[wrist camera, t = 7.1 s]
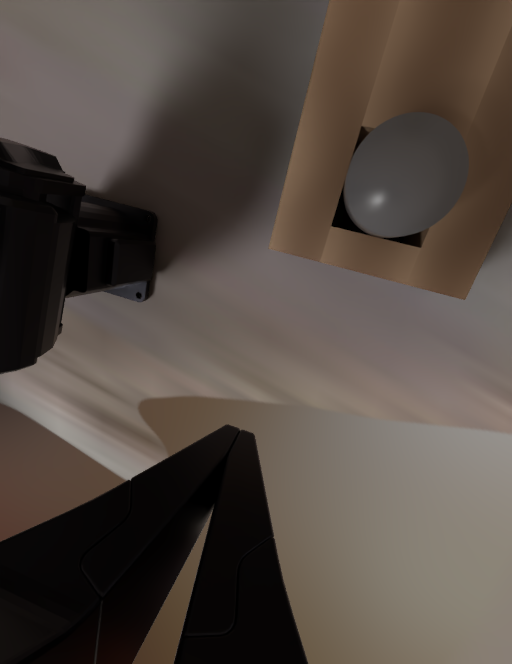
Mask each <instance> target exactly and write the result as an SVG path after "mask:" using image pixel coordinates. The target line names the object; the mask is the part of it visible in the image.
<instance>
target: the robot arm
mask: <svg viewBox="0 0 512 664" xmlns="http://www.w3.org/2000/svg"><path fill="white" fill-rule="evenodd" d="M85 190H86V185H83V184H81V183H79V182H77V181H74V177H72V176H70V175H68V174H65V172H64V171H63V170H62V168H61V166H60V164H59V162H58V160H57V158H56V157H55V156H53V155H51V154H48V153H46V152H43V151H40V150H37V149H35V148H32V147H29V146H26V145H23V144H20V143H17V142H14V141H11V140H8V139H4V138H0V374H3V373H8V372H13V371H17V370H20V369H23V368H26V367H29V366H32V365H34V364H35V363H36V362H37V357H40V356H41V355H43V354H44V353H46V352H47V351H48V350H50V349H51V348H53V346H54V344H55V342H56V340H57V336H58V335H59V334H60V333H61V331H62V326H63V324H62V323H61V320H62V314H63V308H64V302H65V298H69V297H74V296H79V295H85V294H90V293H95V292H101V291H104V292H107V293H111V294H114V295H117V296H120V297H124V298H127V299H130V300H133V301H137V302H143V301H146V299H147V298H148V291H149V283H150V279H151V278H152V272H153V264H154V256H155V248H156V245H155V235H156V227H157V216H156V214H155V213H153V212H151V211H147V210H143V209H139V208H136V207H132V206H128V205H124V204H120V203H116V202H112V201H108V200H105V199H101V198H97V197H93V196H89V195H85ZM148 216H150V217H151V221H150V222H148V219H147V218H148ZM139 292H140V293H141V294H142V297H140V296H139ZM213 507H214V508H213ZM212 510H213V512H212ZM211 512H212V516H211V520H210V523H209V527H208V531H207V535H206V539H205V543H204V547H203V551H202V555H201V559H200V562H199V566H198V570H197V574H196V578H195V582H194V586H193V590H192V594H191V597H190V602H189V605H188V609H187V613H186V617H185V621H184V625H183V629H182V633H181V636H180V640H179V644H178V648H177V652H176V656H175V660H174V664H308V662H307V658H306V655H305V651H304V648H303V645H302V642H301V639H300V635H299V632H298V629H297V626H296V622H295V619H294V616H293V613H292V609H291V606H290V602H289V598H288V595H287V592H286V588H285V584H284V581H283V576H282V572H281V567H280V563H279V559H278V554H277V549H276V543H275V539H274V538H273V537H274V533H273V528H272V523H271V518H270V513H269V508H268V502H267V497H266V492H265V486H264V481H263V476H262V471H261V465H260V460H259V455H258V450H257V445H256V439H255V435H254V434H253V433H250V432H248V431H245V430H241V431H240V429H239V428H237V427H234V426H231V425H225V426H223V427H222V428H220V429H218V430H216V431H214V432H213V433H211V434H209V435H207V436H205V437H204V438H202V439H200V440H198V441H197V442H195V443H193V444H191V445H189V446H188V447H186V448H184V449H182V450H181V451H179V452H177V453H175V454H174V455H172V456H170V457H168V458H166V459H165V460H163V461H161V462H159V463H158V464H156V465H154V466H152V467H151V468H149V469H147V470H145V471H143V472H142V473H140V474H138V475H136V476H135V477H133V478H132V479H131V480H127V481H126V482H124V483H122V484H120V485H119V486H117V487H115V488H113V489H111V490H109V491H108V492H106V493H104V494H102V495H100V496H98V497H96V498H94V499H93V500H90V501H88V502H86V503H84V504H82V505H80V506H78V507H76V508H74V509H72V510H69V511H68V512H65V513H63V514H61V515H59V516H56V517H54V518H52V519H50V520H47V521H45V522H43V523H41V524H39V525H37V526H34V527H32V528H30V529H28V530H25V531H23V532H21V533H19V534H16V535H14V536H12V537H10V538H8V539H6V540H3V541H1V542H0V664H132V663H133V661H134V659H135V657H136V655H137V653H138V651H139V650H140V648H141V646H142V644H143V642H144V640H145V638H146V636H147V634H148V632H149V630H150V629H151V626H152V625H153V623H154V621H155V619H156V617H157V615H158V613H159V611H160V610H161V608H162V606H163V604H164V602H165V600H166V598H167V596H168V594H169V592H170V590H171V589H172V587H173V585H174V583H175V581H176V579H177V577H178V575H179V573H180V571H181V570H182V568H183V566H184V564H185V562H186V560H187V558H188V556H189V554H190V552H191V550H192V549H193V547H194V545H195V543H196V541H197V539H198V537H199V535H200V533H201V531H202V529H203V528H204V526H205V523H206V522H207V520H208V518H209V516H210V514H211Z"/></svg>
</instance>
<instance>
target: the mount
mask: <svg viewBox="0 0 512 664" xmlns="http://www.w3.org/2000/svg"><path fill="white" fill-rule="evenodd" d="M411 112H425V113H431V114H435V115H438V116H440V117H442V118H444V119H446V120H447V121H449V122H450V123H451V124H452V125H453V126H454V127H456V129H457V130H458V131H459V132H460V134H461V136H462V137H463V139H464V141H465V144H466V147H467V151H468V156H469V170H468V176H467V181H466V184H465V187H464V190H463V192H462V194H461V196H460V198H459V199H458V201H457V202H456V204H455V205H454V207H453V208H452V209H451V210H450V211H449V213H448V214H446V215H445V216H444V217H443V218H442V219H441V220H440V221H438V222H437V223H436V224H434V225H433V226H431V227H429V228H427V229H425V230H423V231H421V232H418V233H415V234H411V235H406V236H405V238H404V240H403V243H398V242H394V241H390V240H386V239H382V238H378V237H374V236H369V235H365V234H361V233H357V232H353V231H349V230H345V229H341V228H337V227H332V226H331V224H332V221H333V218H334V214H335V211H336V208H337V205H338V201H339V198H340V195H341V191H342V188H343V185H344V182H345V178H346V175H347V172H348V168H349V165H350V162H351V159H352V155H353V153H355V152H356V150H357V148H358V147H359V145H360V144H361V142H362V141H363V140H364V139H365V137H366V136H367V135H368V134H369V133H370V132H371V131H372V130H374V129H375V128H376V127H377V126H379V125H380V124H382V123H383V122H385V121H387V120H389V119H391V118H393V117H395V116H398V115H401V114H405V113H411ZM511 203H512V0H330V1H329V5H328V9H327V13H326V17H325V21H324V25H323V29H322V33H321V37H320V41H319V45H318V49H317V53H316V57H315V62H314V66H313V70H312V74H311V78H310V82H309V86H308V90H307V94H306V98H305V102H304V106H303V110H302V114H301V118H300V122H299V127H298V131H297V135H296V139H295V143H294V147H293V151H292V155H291V159H290V163H289V167H288V171H287V175H286V179H285V183H284V187H283V192H282V196H281V200H280V204H279V208H278V212H277V216H276V220H275V224H274V228H273V232H272V236H271V240H270V244H269V248H268V249H272V250H276V251H280V252H284V253H288V254H291V255H295V256H299V257H303V258H307V259H310V260H314V261H318V262H322V263H326V264H330V265H333V266H337V267H341V268H345V269H349V270H352V271H356V272H360V273H364V274H368V275H372V276H375V277H379V278H383V279H387V280H391V281H394V282H398V283H402V284H406V285H410V286H414V287H417V288H421V289H425V290H429V291H433V292H436V293H440V294H444V295H448V296H452V297H456V298H459V299H463V300H465V299H466V297H467V295H468V293H469V291H470V289H471V286H472V284H473V282H474V280H475V278H476V276H477V274H478V272H479V270H480V268H481V266H482V264H483V261H484V259H485V257H486V255H487V253H488V251H489V249H490V247H491V245H492V243H493V241H494V239H495V236H496V234H497V232H498V230H499V228H500V226H501V224H502V222H503V220H504V218H505V216H506V214H507V211H508V209H509V207H510V205H511Z"/></svg>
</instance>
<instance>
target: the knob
mask: <svg viewBox="0 0 512 664" xmlns="http://www.w3.org/2000/svg"><path fill="white" fill-rule="evenodd" d="M468 170H469V156H468V151H467V147H466V144H465V141H464V139H463V137H462V136H461V134H460V132H459V131H458V130H457V129H456V127H454V126H453V125H452V124H451V123H450V122H449V121H447V120H446V119H444V118H442V117H440V116H438V115H435V114H431V113H425V112H411V113H405V114H401V115H398V116H395V117H393V118H391V119H389V120H387V121H385V122H383V123H382V124H380V125H379V126H377V127H376V128H375V129H374V130H372V131H371V132H370V133H369V134H368V135H367V136H366V137H365V139H364V140H363V141H362V142H361V144H360V145H359V147H358V148H357V150H356V152H355V154H354V156H353V158H352V160H351V163H350V166H349V169H348V172H347V175H346V179H345V183H344V190H343V196H344V204H345V208H346V211H347V213H348V215H349V217H350V219H351V220H352V221H353V223H354V224H355V225H356V226H357V227H358V228H359V229H361V230H362V231H364V232H365V233H367V234H369V235H372V236H375V237H381V238H394V237H400V236H406V235H411V234H415V233H418V232H421V231H423V230H425V229H427V228H429V227H431V226H433V225H434V224H436V223H437V222H438V221H440V220H441V219H442V218H443V217H444V216H445V215H446V214H448V213H449V211H450V210H451V209H452V208H453V207H454V205H455V204H456V202H457V201H458V199H459V198H460V196H461V194H462V192H463V190H464V187H465V184H466V181H467V176H468Z"/></svg>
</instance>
